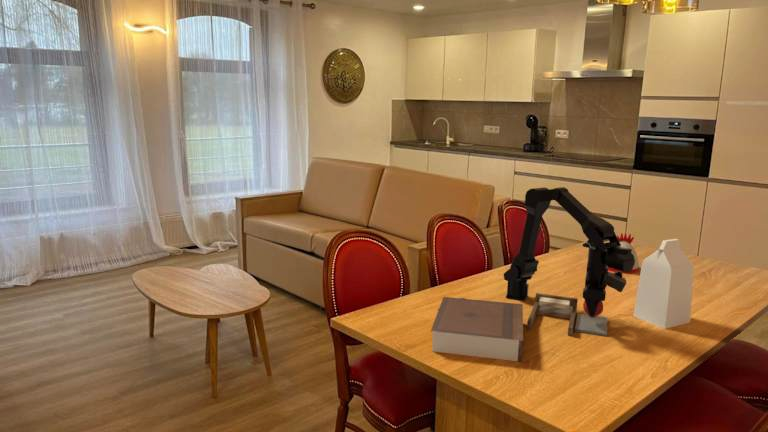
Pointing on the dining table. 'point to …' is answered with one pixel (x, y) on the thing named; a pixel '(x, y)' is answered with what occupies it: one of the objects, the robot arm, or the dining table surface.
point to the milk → (665, 287)
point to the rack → (572, 300)
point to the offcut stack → (554, 307)
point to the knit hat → (626, 243)
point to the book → (479, 329)
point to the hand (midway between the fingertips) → (592, 312)
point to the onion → (598, 310)
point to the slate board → (591, 324)
